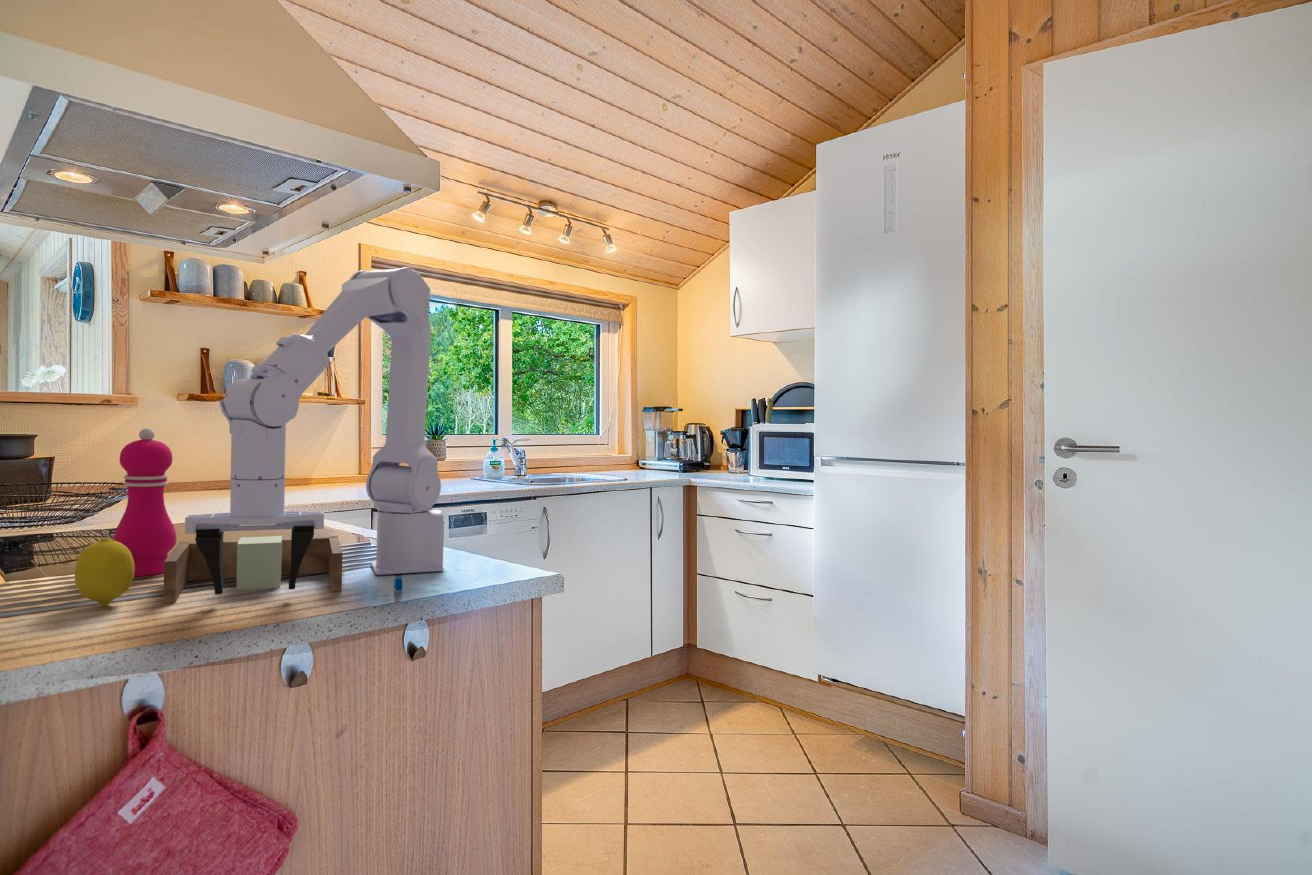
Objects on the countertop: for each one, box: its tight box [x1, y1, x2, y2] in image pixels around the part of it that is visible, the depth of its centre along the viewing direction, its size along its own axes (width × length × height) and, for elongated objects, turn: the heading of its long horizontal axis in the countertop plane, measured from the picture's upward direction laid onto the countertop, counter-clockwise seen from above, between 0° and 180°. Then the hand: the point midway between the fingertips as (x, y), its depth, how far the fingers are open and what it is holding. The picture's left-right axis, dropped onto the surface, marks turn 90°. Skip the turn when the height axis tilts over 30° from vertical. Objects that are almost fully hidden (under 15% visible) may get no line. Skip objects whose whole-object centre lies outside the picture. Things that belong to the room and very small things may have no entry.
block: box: [235, 535, 283, 591], centre depth 95 cm, size 5×5×6 cm
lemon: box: [74, 536, 135, 607], centre depth 83 cm, size 6×6×8 cm
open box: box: [163, 535, 344, 604], centre depth 95 cm, size 19×13×5 cm, turn 117°
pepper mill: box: [112, 427, 178, 578], centre depth 99 cm, size 7×7×20 cm
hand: (256, 589), depth 87 cm, fingers open, 7 cm apart
